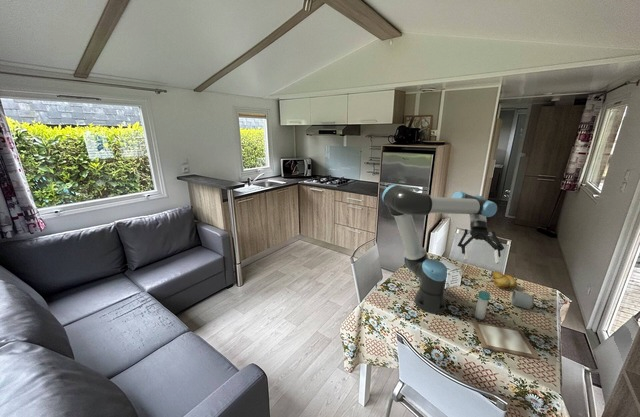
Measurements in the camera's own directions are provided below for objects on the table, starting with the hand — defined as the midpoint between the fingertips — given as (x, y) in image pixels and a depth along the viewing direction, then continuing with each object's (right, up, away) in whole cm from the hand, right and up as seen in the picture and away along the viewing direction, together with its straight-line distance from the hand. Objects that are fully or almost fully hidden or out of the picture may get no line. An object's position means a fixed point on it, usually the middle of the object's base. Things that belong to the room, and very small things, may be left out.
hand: (481, 261), depth 126 cm
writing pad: (0, -31, -15) cm, 34 cm away
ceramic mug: (+26, -25, +9) cm, 37 cm away
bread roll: (+30, -20, +24) cm, 43 cm away
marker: (-2, -27, -2) cm, 28 cm away
